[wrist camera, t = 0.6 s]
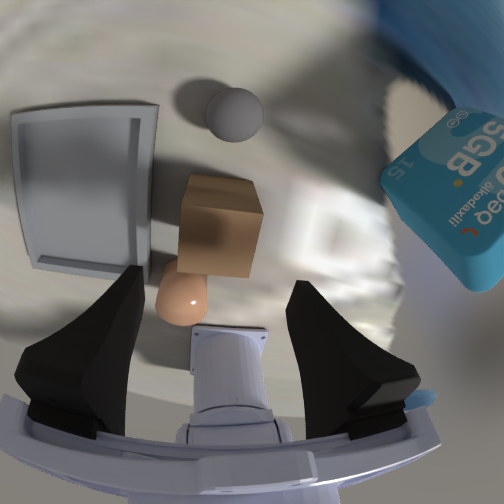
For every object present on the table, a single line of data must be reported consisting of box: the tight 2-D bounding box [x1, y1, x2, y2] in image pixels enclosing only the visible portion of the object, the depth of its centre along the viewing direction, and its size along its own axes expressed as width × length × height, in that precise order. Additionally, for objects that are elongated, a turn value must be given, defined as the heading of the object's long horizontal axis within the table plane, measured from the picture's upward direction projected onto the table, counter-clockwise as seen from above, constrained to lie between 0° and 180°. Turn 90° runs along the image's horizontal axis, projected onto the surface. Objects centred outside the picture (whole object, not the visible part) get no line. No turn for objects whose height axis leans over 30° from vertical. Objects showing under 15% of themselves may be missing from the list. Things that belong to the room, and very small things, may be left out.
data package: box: [380, 107, 504, 292], centre depth 15 cm, size 12×4×12 cm, turn 133°
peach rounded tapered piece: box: [155, 258, 207, 326], centre depth 22 cm, size 4×4×4 cm
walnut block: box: [177, 174, 264, 278], centre depth 18 cm, size 4×4×6 cm
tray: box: [11, 104, 159, 284], centre depth 18 cm, size 14×12×2 cm
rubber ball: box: [205, 88, 264, 143], centre depth 15 cm, size 4×4×4 cm
